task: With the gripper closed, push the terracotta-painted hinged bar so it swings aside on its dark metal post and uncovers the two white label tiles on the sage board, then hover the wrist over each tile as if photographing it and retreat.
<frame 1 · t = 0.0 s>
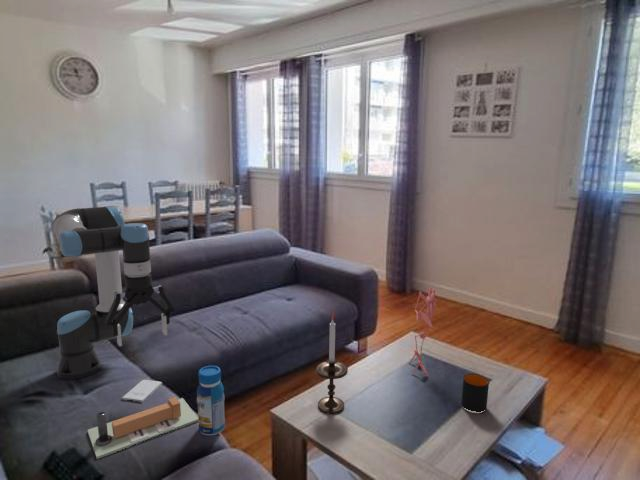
hand: (143, 339, 134), 28 cm above the table, fingers open, 13 cm apart
label tile b: (163, 426, 135), resting on board
mug: (471, 404, 149), on the table
cable arm: (147, 417, 134), point 4 cm above the table, hinge at 0.0°
external hard drive: (142, 393, 155), on the table
figurine: (427, 370, 173), on the table
board: (144, 426, 135), on the table
candlestick: (331, 406, 147), on the table
label tile a: (137, 435, 131), resting on board
beverage bottle: (212, 428, 135), on the table
pivot post: (104, 443, 127), resting on board
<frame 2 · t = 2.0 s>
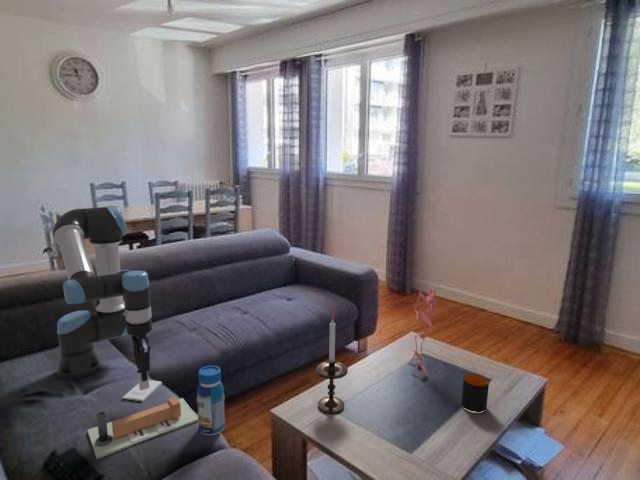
hand: (144, 388, 138), 10 cm above the table, fingers closed
nothing on the table moved.
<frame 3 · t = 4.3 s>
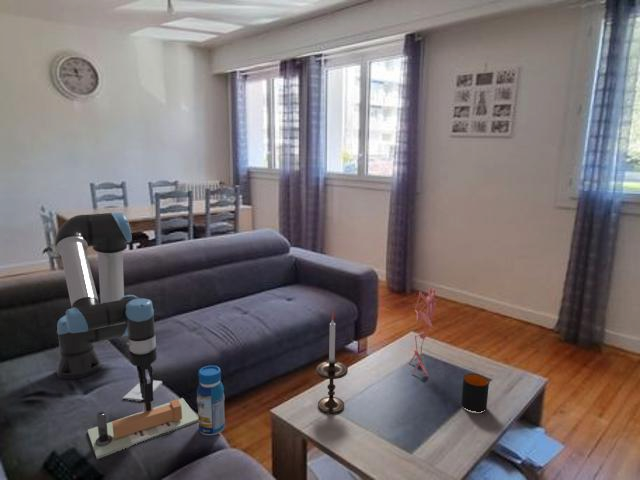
hand: (148, 417, 135), 3 cm above the table, fingers closed
cable arm: (147, 418, 133), point 4 cm above the table, hinge at -4.5°, touching gripper
everything else where it was.
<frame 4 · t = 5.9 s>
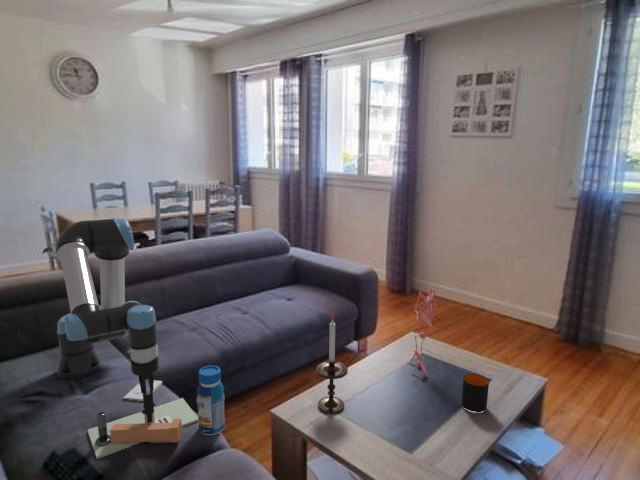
hand: (150, 429, 130), 3 cm above the table, fingers closed
cable arm: (146, 431, 127), point 4 cm above the table, hinge at -34.1°, touching gripper
everything else where it was.
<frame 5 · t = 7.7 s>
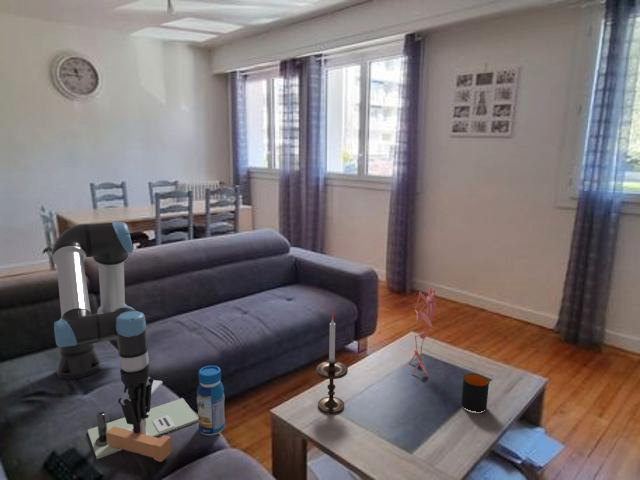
hand: (140, 439, 125), 3 cm above the table, fingers closed
cable arm: (137, 441, 122), point 4 cm above the table, hinge at -55.6°
everything else where it was.
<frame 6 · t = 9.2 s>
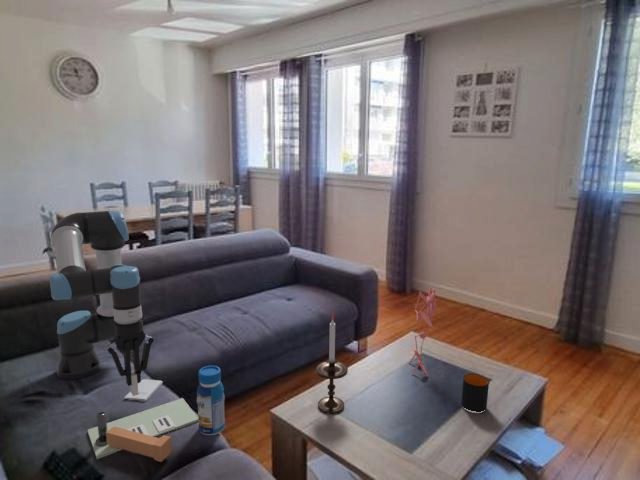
hand: (134, 393, 128), 14 cm above the table, fingers closed
nothing on the table moved.
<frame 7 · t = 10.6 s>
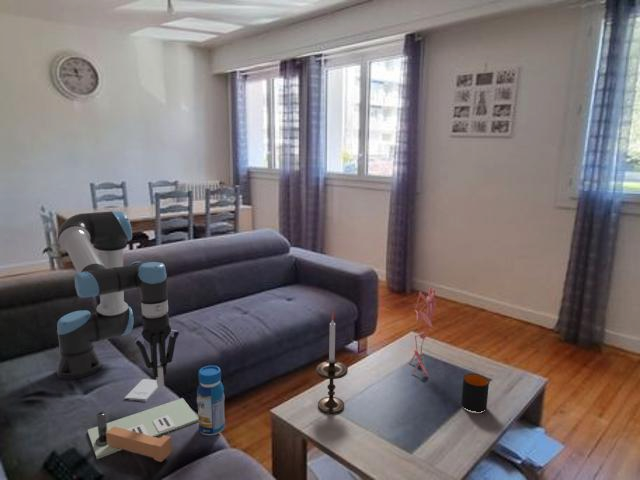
hand: (160, 385, 132), 14 cm above the table, fingers closed
nothing on the table moved.
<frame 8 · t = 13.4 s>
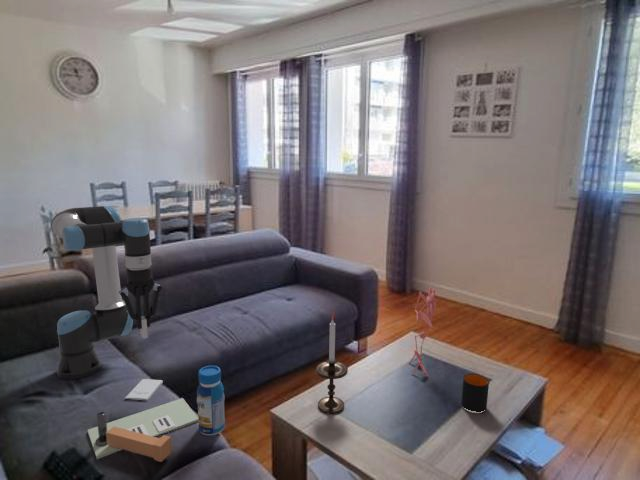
hand: (144, 336, 139), 26 cm above the table, fingers closed
nothing on the table moved.
at the end: cable arm at -56° (first picture: +0°); beverage bottle moved 0.2 cm from its start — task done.
